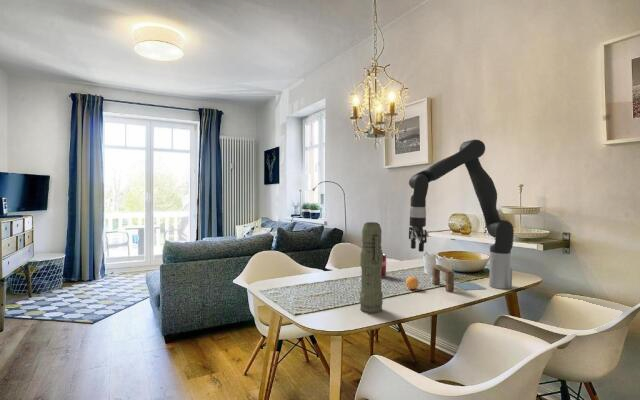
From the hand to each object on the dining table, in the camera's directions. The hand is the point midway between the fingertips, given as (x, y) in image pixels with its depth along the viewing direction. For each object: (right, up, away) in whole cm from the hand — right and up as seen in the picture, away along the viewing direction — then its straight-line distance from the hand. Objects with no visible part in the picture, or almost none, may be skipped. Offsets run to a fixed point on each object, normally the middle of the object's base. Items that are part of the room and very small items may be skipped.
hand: (417, 250), depth 172 cm
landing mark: (+28, -19, +7) cm, 34 cm away
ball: (-2, -16, +1) cm, 16 cm away
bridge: (+14, -19, +4) cm, 24 cm away
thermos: (-26, -20, -28) cm, 44 cm away
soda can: (-14, -19, +27) cm, 35 cm away
